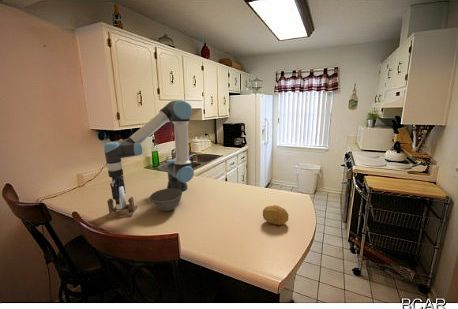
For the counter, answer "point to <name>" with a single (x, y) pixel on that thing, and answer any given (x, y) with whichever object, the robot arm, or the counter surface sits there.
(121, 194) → the roll
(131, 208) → the stand
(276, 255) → the counter surface
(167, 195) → the bowl
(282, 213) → the potato
